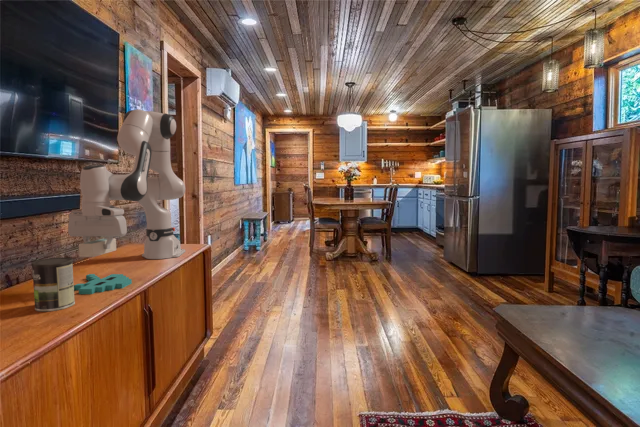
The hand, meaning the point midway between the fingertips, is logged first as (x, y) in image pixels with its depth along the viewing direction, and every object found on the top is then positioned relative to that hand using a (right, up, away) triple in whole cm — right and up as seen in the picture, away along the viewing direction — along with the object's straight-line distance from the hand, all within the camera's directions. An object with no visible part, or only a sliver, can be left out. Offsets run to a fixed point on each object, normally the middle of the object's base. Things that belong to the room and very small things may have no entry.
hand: (98, 248), depth 138 cm
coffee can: (-1, -16, -20) cm, 26 cm away
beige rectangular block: (0, -2, 0) cm, 2 cm away
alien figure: (0, -14, +2) cm, 14 cm away
